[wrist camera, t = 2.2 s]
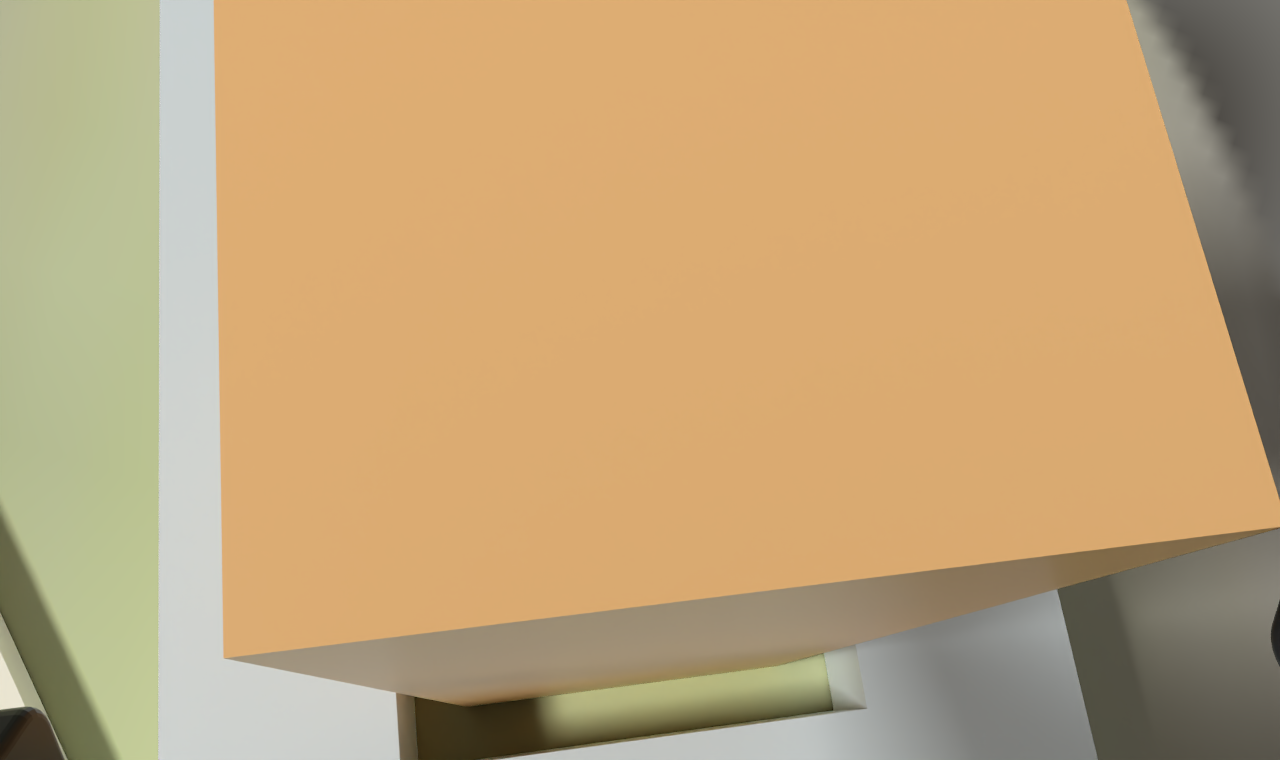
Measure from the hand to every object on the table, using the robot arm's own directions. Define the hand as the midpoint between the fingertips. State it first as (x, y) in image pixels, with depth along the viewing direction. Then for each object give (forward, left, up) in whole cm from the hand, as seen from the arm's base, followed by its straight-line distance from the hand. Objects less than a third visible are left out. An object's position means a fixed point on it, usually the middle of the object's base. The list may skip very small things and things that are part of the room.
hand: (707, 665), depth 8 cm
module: (+2, +1, -10) cm, 10 cm away
